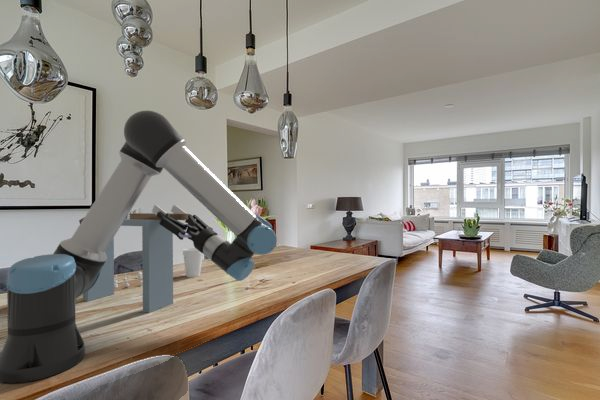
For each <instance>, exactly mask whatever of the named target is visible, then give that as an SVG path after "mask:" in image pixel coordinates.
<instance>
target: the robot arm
mask: <svg viewBox="0 0 600 400" xmlns="http://www.w3.org/2000/svg"><path fill="white" fill-rule="evenodd" d="M123 136H124V139H125V142H124V143H123V145H122V147H121V148H120V150H119V152H118V154H119V156H120V162H119V163H118V164H117V166H116V168H115V170H114V171H113V173H112V174H111V175H110V177H109V179H108V181H107V182H106V184H105V185H104V187H103V188H102V189H101V192H100V193H99V195H97V197H96V198H95V200H94V202H93V203H92V204H93V205H92V207H91V208H90V207H89V210H88V212H86V215H85V216H84V217H85V218H84V217H83V218H84V219H83V221H82V222H81V224H80V223H79V225H78V227H77V228H76V230H75V231H74V234H72V237H71V238H67V239H64V240H61V242H60V243H59V244H58V246H57V247H56V249H55V250H54V252H53V253H51V254H43V255H42V254H41V255H35V256H33V257H29V258H28V257H27V258H24V259H21V260H18V261H17V262H15V263H13V264H12V265H11V266H10V267H9V268H8V270H7V278H6V283H5V285H6V291H7V292H6V293H7V295H6V296H7V297H6V299H7V300H6V301H7V304H6V305H7V337H6V341H5V343H4V345H3V348H2V350H1V353H0V381H1V383H4V382H7V383H6V384H16V383H15V382H20V383H21V382H22V383H28V382H33V381H38V380H41V379H46V378H48V377H52V376H54V375H58V374H60V373H62V372H64V371H67V370H69V369H71V368H73V367H74V366H76V365H77V364H78V363H80V362H81V361H83V359H84V358H85V354H86V351H85V350H86V347H85V346H86V345H85V342H84V340H83V338H82V336H81V333H80V331H79V328H78V326H77V322H76V300H77V298H79V297H81V296H83V294H84V293H85V292H87V291H88V290H90V288H92V287H93V286H94V285H95V283H96V282H97V280H98V278H99V275H100V271H101V269H102V267H103V265H104V263H105V262H106V260H107V256H106V253H105V251H106V249H107V247H108V246H109V244H110V242H111V241H112V239H113V238H114V237H116V235H117V233H118V231H119V229H120V228H121V227H122V226H121V225H122V223H123V222H124V220H125V218H126V217H127V218H128V216H129V214H130V212H131V210H132V208H133V207H134V205H135V204H136V203H137V200H138V199H139V197H140V196H141V194H142V192H143V191H144V189H145V188H146V186H147V185H148V183H149V181H150V179H151V178H152V177H154V176H158V175H161V173H162V172H163V170H165V171H166V172H168V174H170V175H171V176H172V178H174V179H175V180H176V181H177V182H178V183H179V184H180V185H181V186H182V187H183V188H184V189H186V190H187V191H188V192H189V193H190V194H191V195H192V196H193V197H194V198H195V199H196V200H197V201H199V202H200V204H202V205H203V207H205V208H206V209H207V210H208V211H209V212H210V213H211V214H212V215H213V216H215V218H216V219H217V220H219V221H220V222H221V224H223V225H224V226H225V227H226V228H227V229H228V230H229V231H230V232H232V233H233V235H235V238H234V239H233V240H232V241H231V243H230V242H229V241H228V240H227V239H225V238H224V237H223V236H221V235H220V234H218V233H217V232H215V230H214V229H213V228H212V227H211V226H209V225H208V224H206V222H204V221H203V220H202V219H201V218H200V217H198V216H197V215H196V214H193V215H192V214H191V213H188V212H186V211H185V210H184V209H182V208H181V207H180V206H178V205H177V204H174V203H173V205H172V207H171V210H170V212H171V213H172V214H188V220H184V223H183V222H181V221H180V220H176V219H174V218H172V217H170V216H169V213H168V212H167V211H165V210H164V209H163V208H162V207H160V206H159V205H158V204H153V205H154V206H153V207H152V210H151V212H152V213H154V214H155V215H156V216H157V217H159V218H160V219H161V221H160V223H159V224H160V225H161V226H163V227H164V228H166V229H167V230H169V231H170V232H172V233H173V235H175V236H176V237H177V238H178V239H179V240H181V241H183V240H184V238H187V239H188V240H190V241H192V243H193V248H196V249H197V250H199V251H200V252H201V253H203V256H205V257H206V258H208V260H210V261H211V262H213V263H214V264H215V265H216V266H218V267H219V268H220V269H221V270H222V271H224V273H225V274H227V275H229V276H230V277H231V278H233V279H234V280H235V281H237V282H239V281H240V282H241V281H244V280H245V279H246V278H248V277H249V276H250V274H251V273H252V271H253V269H254V267H255V261H254V260H253V259H252V257H253V256H254V255H259V256H263V255H268V254H270V253H271V252H273V251H274V250H275V247H276V246H277V242H278V240H277V234H276V232H275V231H274V230H273V225H272V224H271V223H270V222H269V221H268V220H266V219H265V218H263V217H262V216H260V215H259V214H258V213H254V211H252V210H251V209H250V208H249V206H247V205H246V204H245V203H244V202H243V201H242V200H241V199H240V198H239V197H238V196H237V195H236V194H235V193H234V192H233V191H232V190H231V189H230V188H229V187H228V186H227V185H226V184H224V182H223V181H222V180H221V179H220V178H219V177H218V176H217V175H216V174H214V173H213V172H212V171H211V170H210V168H208V167H207V166H206V165H205V164H204V163H203V162H202V161H201V159H199V158H198V157H197V156H196V155H195V154H194V153H193V152H192V151H191V150H190V149H189V148H188V147H187V145H186V144H187V142H186V139H185V138H183V137H182V135H180V134H179V133H178V132H177V130H176V129H175V128H174V126H173V125H172V124H171V123H170V121H169V119H167V118H166V117H165V116H164V115H162V114H161V113H159V112H157V111H153V110H140V111H137V112H135V113H133V114H132V115H131V116H129V118H128V119H127V120H126V122H125V124H124V127H123ZM127 215H128V216H127ZM185 223H186V224H185ZM114 239H115V238H114ZM20 383H19V384H20Z"/></svg>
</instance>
